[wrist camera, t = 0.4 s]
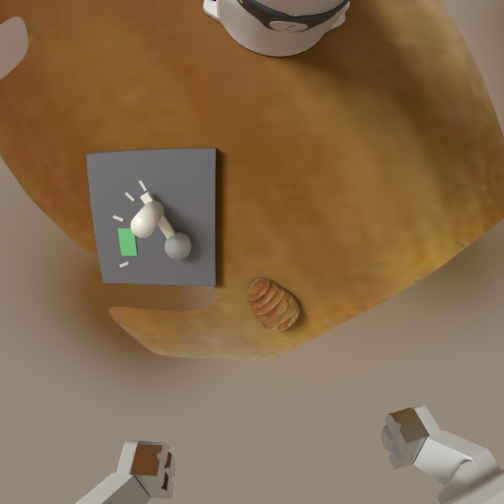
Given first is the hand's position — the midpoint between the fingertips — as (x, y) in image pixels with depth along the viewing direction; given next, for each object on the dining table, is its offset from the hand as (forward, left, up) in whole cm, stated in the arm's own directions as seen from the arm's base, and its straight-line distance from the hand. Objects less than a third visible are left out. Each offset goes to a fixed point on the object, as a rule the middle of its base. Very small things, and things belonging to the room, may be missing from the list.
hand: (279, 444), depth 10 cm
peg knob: (+4, -10, -35) cm, 36 cm away
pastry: (+18, +5, -37) cm, 42 cm away
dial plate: (+4, -13, -37) cm, 39 cm away
